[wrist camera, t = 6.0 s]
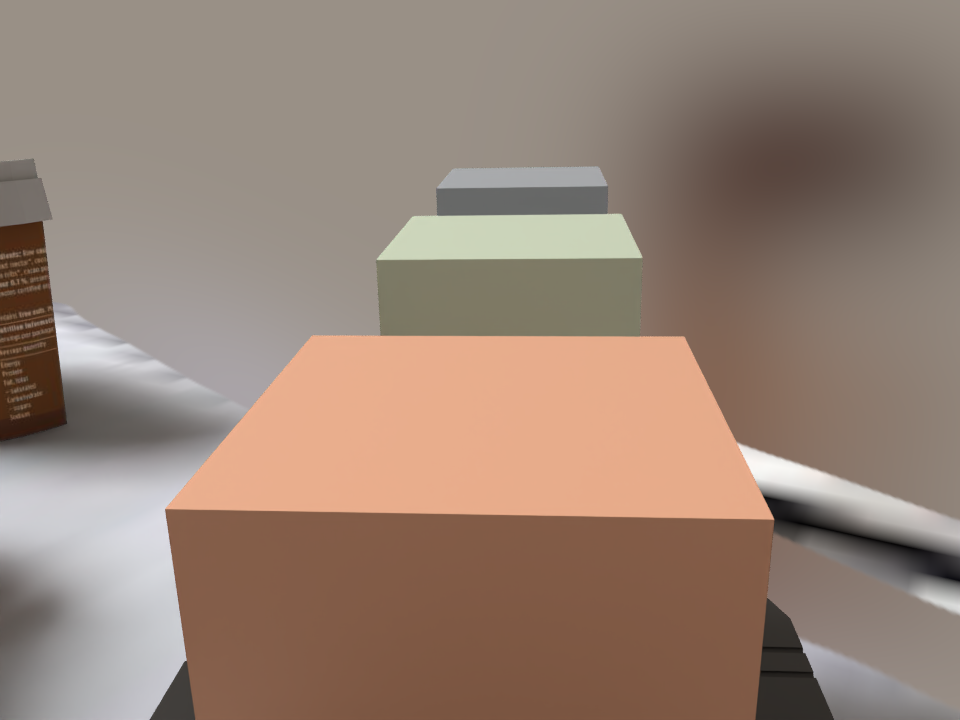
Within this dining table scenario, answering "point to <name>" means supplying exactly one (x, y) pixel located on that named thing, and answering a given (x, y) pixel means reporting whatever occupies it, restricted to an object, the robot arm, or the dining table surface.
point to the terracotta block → (476, 538)
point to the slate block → (523, 191)
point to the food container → (26, 308)
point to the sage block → (511, 277)
